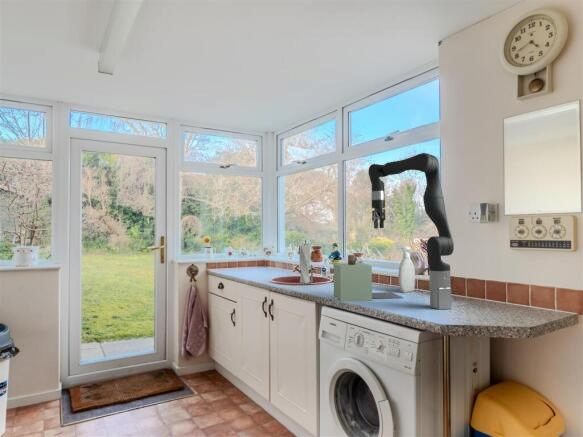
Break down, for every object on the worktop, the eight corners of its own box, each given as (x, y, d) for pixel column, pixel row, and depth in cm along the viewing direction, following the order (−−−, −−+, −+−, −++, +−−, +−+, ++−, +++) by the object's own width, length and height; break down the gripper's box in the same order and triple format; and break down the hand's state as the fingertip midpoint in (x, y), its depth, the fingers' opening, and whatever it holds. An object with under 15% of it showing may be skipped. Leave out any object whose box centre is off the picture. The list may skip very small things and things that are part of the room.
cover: (372, 300, 199) (371, 256, 200) (340, 301, 197) (340, 256, 198) (362, 295, 216) (362, 254, 216) (333, 295, 214) (333, 254, 215)
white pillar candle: (306, 284, 263) (306, 243, 264) (297, 283, 268) (296, 243, 269) (313, 282, 269) (313, 242, 270) (304, 282, 274) (303, 242, 275)
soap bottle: (407, 289, 234) (406, 245, 235) (418, 291, 228) (418, 245, 229) (392, 292, 225) (392, 246, 226) (405, 293, 219) (404, 246, 220)
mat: (403, 298, 205) (403, 297, 205) (371, 299, 203) (371, 298, 203) (391, 293, 222) (391, 292, 222) (362, 293, 220) (362, 293, 220)
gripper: (389, 198, 209) (390, 228, 209) (379, 200, 224) (380, 228, 223) (376, 198, 208) (376, 228, 208) (367, 200, 223) (368, 228, 222)
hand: (378, 228), depth 215 cm, fingers open, 8 cm apart
